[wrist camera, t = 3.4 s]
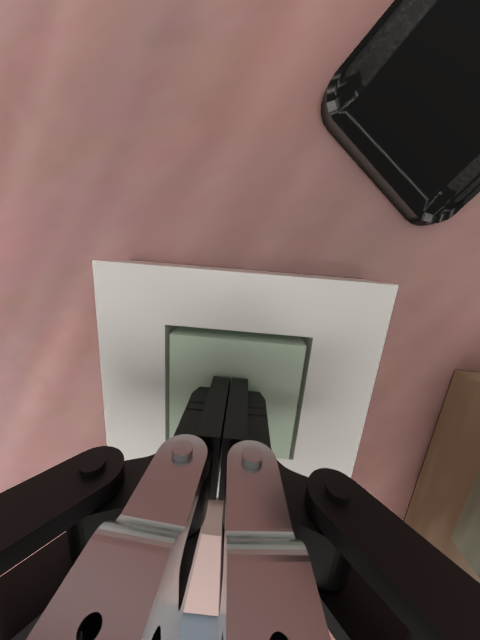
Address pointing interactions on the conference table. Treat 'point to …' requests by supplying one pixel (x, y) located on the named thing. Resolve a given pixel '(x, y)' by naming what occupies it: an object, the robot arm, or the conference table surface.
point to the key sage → (239, 373)
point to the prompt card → (452, 478)
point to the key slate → (198, 627)
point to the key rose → (207, 565)
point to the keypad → (248, 316)
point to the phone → (414, 106)
